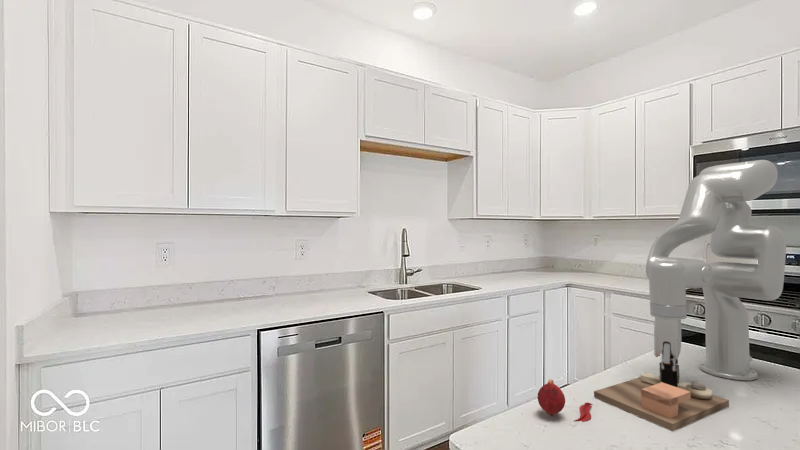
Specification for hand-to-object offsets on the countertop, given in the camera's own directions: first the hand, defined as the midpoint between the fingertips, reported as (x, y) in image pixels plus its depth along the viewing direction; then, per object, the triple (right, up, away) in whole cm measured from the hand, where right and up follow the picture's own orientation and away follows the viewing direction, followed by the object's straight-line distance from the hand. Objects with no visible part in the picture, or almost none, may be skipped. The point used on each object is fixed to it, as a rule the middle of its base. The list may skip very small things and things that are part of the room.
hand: (670, 381), depth 96 cm
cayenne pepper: (-26, -4, -9) cm, 28 cm away
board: (-6, -3, -4) cm, 8 cm away
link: (+1, -1, -1) cm, 2 cm away
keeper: (-9, -2, -11) cm, 14 cm away
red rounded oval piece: (-34, -4, -10) cm, 36 cm away
